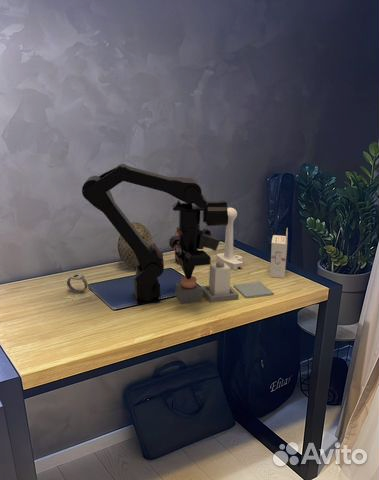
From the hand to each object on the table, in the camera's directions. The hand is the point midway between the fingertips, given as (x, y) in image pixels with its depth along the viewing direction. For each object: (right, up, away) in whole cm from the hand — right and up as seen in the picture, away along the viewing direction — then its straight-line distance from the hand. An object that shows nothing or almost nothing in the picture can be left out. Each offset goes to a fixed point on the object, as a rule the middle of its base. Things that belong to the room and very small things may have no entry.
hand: (188, 278), depth 138 cm
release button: (0, -4, +1) cm, 5 cm away
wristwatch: (-32, -4, +5) cm, 33 cm away
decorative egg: (-18, +2, +26) cm, 32 cm away
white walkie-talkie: (+29, 0, +22) cm, 37 cm away
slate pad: (+19, -4, +8) cm, 22 cm away
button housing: (0, -6, +2) cm, 6 cm away
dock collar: (+9, -5, +5) cm, 11 cm away
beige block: (+9, -5, +5) cm, 11 cm away
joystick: (+15, +3, +30) cm, 33 cm away
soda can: (-1, +3, +31) cm, 31 cm away
